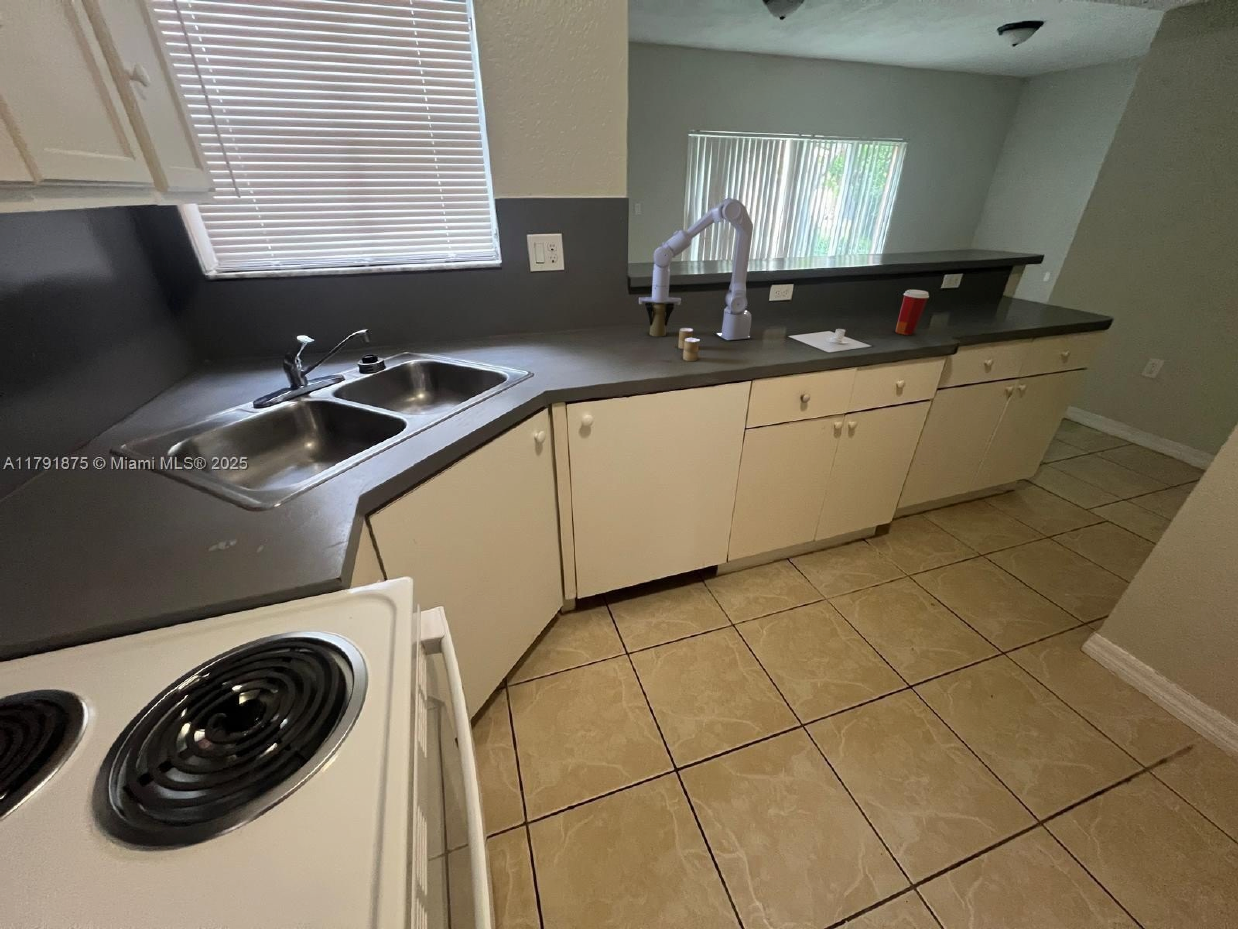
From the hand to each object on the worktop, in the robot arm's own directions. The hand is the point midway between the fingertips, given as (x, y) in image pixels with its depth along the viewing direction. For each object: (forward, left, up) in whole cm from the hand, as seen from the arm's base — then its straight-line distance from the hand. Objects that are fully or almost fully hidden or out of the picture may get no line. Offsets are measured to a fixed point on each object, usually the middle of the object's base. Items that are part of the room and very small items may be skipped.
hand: (658, 324), depth 173 cm
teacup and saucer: (-55, +26, -4) cm, 61 cm away
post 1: (-2, +17, -3) cm, 17 cm away
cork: (0, 0, -4) cm, 4 cm away
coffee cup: (-91, +26, -4) cm, 95 cm away
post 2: (+2, +28, -3) cm, 28 cm away
